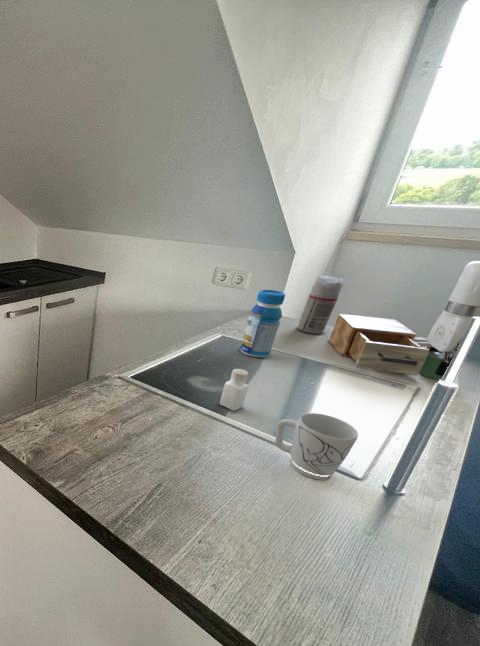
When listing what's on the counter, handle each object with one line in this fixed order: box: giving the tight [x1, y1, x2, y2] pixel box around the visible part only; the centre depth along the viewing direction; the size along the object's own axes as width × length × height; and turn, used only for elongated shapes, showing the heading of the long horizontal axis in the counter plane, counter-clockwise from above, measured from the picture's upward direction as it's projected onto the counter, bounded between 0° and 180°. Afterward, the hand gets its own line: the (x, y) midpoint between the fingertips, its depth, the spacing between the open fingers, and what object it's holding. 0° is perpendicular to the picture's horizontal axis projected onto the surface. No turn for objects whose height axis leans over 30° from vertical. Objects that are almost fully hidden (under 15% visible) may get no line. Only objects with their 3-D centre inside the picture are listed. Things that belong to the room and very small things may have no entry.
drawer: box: [347, 330, 429, 376], centre depth 112 cm, size 18×13×8 cm
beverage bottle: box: [240, 289, 286, 358], centre depth 120 cm, size 8×8×20 cm
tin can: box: [418, 352, 454, 380], centre depth 109 cm, size 6×6×6 cm
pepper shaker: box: [219, 368, 249, 411], centre depth 93 cm, size 4×4×10 cm
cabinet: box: [329, 313, 417, 358], centre depth 123 cm, size 15×15×10 cm
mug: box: [274, 412, 359, 481], centre depth 73 cm, size 11×8×10 cm
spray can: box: [296, 274, 344, 335], centre depth 139 cm, size 8×8×20 cm
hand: (435, 369), depth 109 cm, fingers open, 7 cm apart
